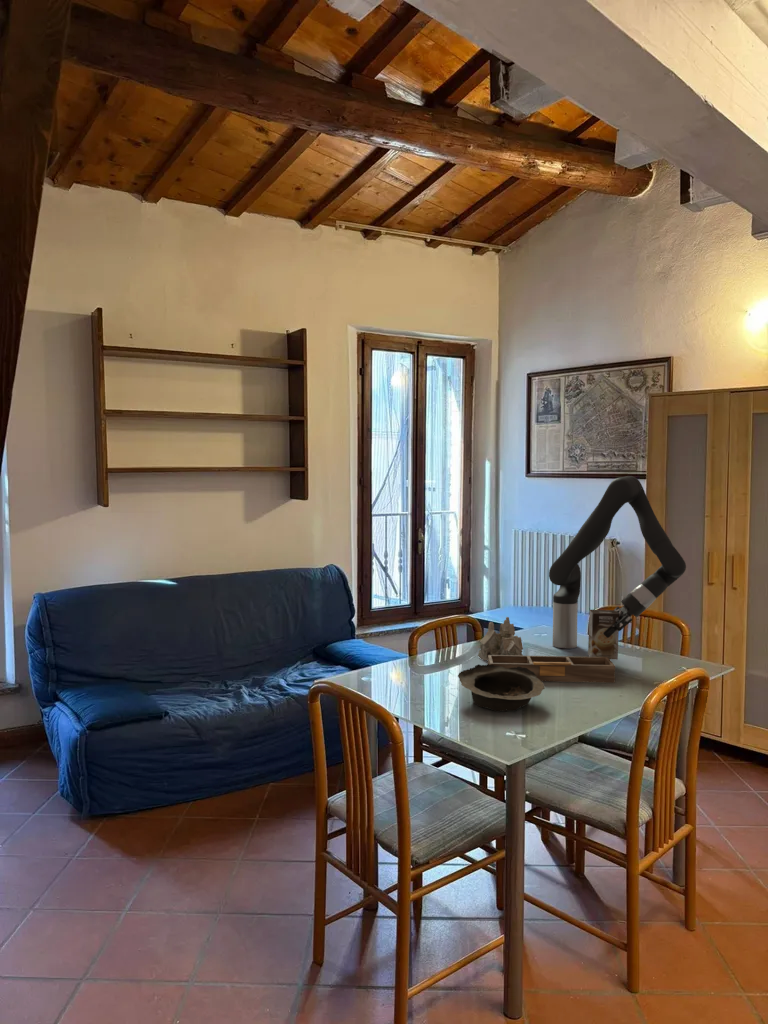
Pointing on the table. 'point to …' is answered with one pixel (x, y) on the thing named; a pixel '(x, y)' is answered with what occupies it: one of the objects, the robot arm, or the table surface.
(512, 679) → the stone bowl
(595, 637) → the coffee box
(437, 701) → the table surface
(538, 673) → the brown wooden compartment tray
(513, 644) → the ceramic cottage
